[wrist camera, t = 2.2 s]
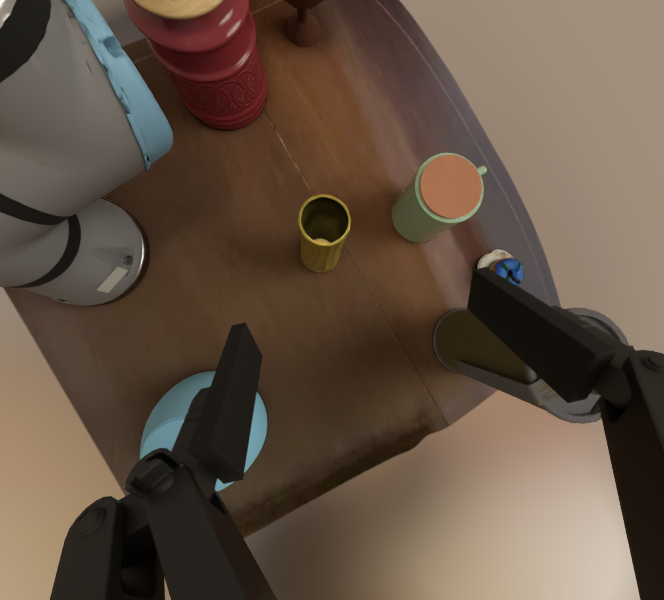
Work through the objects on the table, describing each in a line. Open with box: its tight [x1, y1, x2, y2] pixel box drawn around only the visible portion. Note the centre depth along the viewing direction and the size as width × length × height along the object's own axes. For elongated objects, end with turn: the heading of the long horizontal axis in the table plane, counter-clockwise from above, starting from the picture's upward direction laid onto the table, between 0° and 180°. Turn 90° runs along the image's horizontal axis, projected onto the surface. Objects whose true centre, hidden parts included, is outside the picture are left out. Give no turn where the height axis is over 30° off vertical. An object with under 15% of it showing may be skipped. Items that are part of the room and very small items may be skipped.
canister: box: [433, 308, 634, 423], centre depth 29 cm, size 11×10×20 cm
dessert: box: [477, 249, 524, 287], centre depth 39 cm, size 8×7×6 cm
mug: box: [392, 153, 487, 243], centre depth 35 cm, size 9×12×9 cm
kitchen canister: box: [124, 0, 267, 130], centre depth 29 cm, size 13×13×18 cm
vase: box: [298, 194, 351, 273], centre depth 31 cm, size 6×6×14 cm
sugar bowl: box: [140, 371, 267, 492], centre depth 30 cm, size 15×15×12 cm
